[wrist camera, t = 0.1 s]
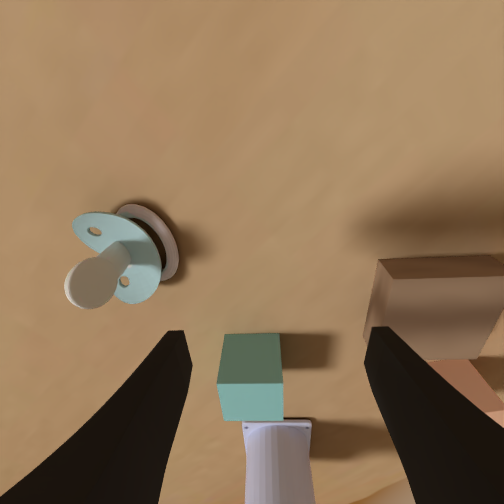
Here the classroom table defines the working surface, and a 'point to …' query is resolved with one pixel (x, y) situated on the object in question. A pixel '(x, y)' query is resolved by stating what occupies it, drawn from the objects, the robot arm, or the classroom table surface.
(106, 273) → the pacifier
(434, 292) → the walnut slab
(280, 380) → the teal cube
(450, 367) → the terracotta cube
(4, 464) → the classroom table surface
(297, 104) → the classroom table surface
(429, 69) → the classroom table surface
